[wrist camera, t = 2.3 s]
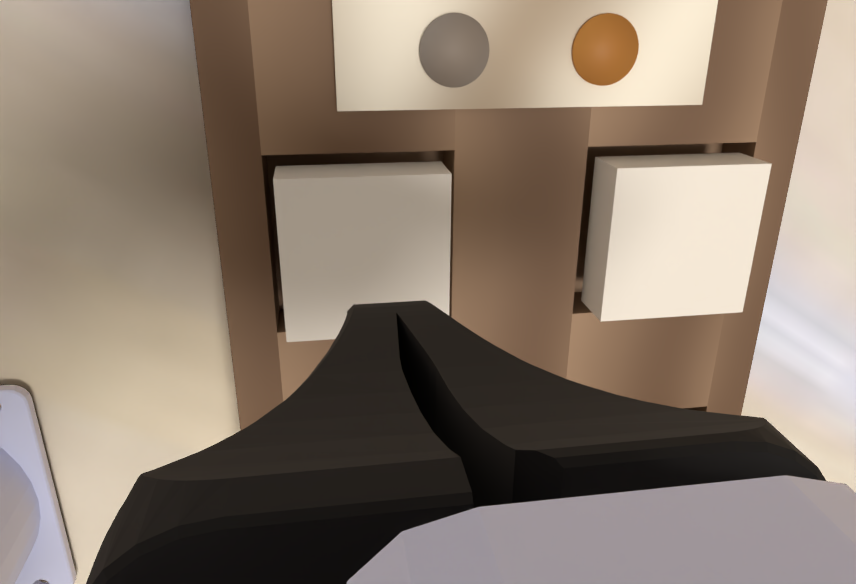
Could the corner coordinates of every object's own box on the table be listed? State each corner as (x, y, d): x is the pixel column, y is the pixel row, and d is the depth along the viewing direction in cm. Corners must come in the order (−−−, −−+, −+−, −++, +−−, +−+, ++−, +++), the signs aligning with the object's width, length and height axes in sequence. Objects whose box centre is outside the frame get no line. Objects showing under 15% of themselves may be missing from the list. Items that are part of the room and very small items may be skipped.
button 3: (288, 318, 18) (286, 342, 17) (275, 165, 16) (272, 179, 15) (439, 309, 18) (449, 331, 17) (440, 161, 17) (451, 173, 16)
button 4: (581, 300, 19) (600, 321, 18) (595, 156, 18) (617, 168, 16) (714, 292, 20) (742, 312, 18) (739, 152, 18) (771, 163, 17)
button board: (275, 600, 26) (270, 693, 22) (194, -151, 16) (163, -194, 13) (652, 554, 28) (701, 633, 24) (766, -130, 19) (871, -162, 15)
